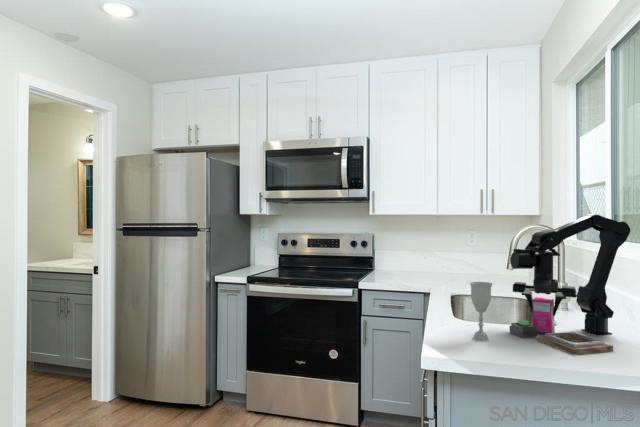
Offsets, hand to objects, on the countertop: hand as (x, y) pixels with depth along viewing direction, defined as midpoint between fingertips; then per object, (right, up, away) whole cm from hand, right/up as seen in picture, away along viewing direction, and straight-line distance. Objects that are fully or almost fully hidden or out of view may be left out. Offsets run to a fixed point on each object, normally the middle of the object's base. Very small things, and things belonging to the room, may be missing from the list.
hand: (543, 314), depth 139 cm
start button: (-8, -3, -3) cm, 9 cm away
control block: (-8, -6, -3) cm, 11 cm away
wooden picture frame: (+2, -6, -14) cm, 15 cm away
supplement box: (0, -6, 0) cm, 6 cm away
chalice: (-25, -6, -8) cm, 27 cm away
